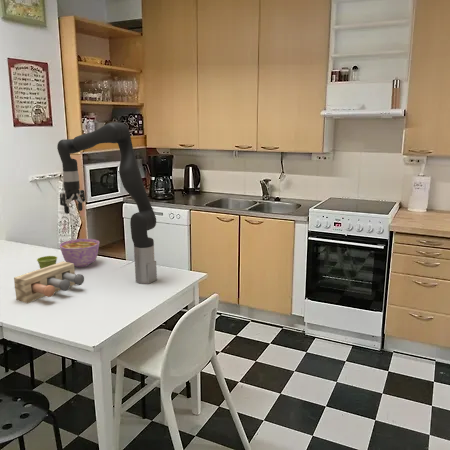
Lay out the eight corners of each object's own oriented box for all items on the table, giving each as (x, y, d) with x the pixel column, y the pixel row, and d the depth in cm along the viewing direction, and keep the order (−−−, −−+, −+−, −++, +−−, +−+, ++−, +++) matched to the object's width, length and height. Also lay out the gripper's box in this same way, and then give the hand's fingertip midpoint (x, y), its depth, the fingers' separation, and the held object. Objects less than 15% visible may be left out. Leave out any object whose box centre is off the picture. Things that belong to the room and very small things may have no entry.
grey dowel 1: (70, 288, 201) (69, 278, 199) (61, 292, 196) (60, 281, 195) (53, 284, 206) (52, 274, 205) (44, 287, 202) (43, 277, 201)
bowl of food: (59, 261, 248) (58, 240, 245) (98, 257, 256) (96, 237, 253) (62, 272, 230) (60, 250, 227) (103, 267, 238) (102, 246, 235)
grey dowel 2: (84, 283, 207) (83, 273, 206) (76, 286, 203) (75, 276, 202) (67, 279, 213) (66, 269, 212) (59, 282, 209) (58, 272, 207)
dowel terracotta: (55, 294, 194) (54, 284, 193) (46, 298, 190) (44, 287, 189) (38, 290, 199) (37, 279, 198) (28, 293, 195) (27, 283, 194)
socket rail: (75, 284, 214) (73, 263, 212) (27, 303, 193) (24, 280, 190) (65, 281, 218) (63, 261, 216) (16, 299, 196) (13, 277, 194)
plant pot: (34, 277, 224) (32, 260, 222) (48, 271, 232) (46, 254, 230) (49, 279, 221) (47, 262, 219) (62, 273, 229) (61, 256, 227)
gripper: (65, 182, 222) (68, 215, 225) (87, 178, 234) (89, 210, 238) (54, 181, 225) (57, 213, 229) (76, 178, 238) (79, 209, 241)
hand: (73, 212), depth 233 cm, fingers open, 8 cm apart
